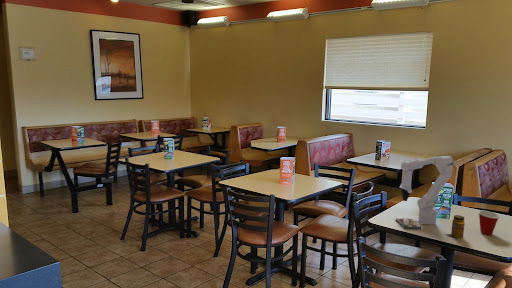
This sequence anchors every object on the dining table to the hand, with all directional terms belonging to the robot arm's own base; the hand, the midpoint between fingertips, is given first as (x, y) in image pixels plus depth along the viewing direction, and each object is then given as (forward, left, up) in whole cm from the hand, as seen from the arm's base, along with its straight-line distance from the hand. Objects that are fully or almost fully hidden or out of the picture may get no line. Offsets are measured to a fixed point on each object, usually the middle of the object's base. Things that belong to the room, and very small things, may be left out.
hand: (404, 200), depth 253 cm
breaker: (+2, +22, -7) cm, 23 cm away
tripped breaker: (+7, +22, -8) cm, 24 cm away
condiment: (-16, +35, -10) cm, 40 cm away
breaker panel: (+4, +18, -9) cm, 21 cm away
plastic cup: (-37, +29, -10) cm, 48 cm away
